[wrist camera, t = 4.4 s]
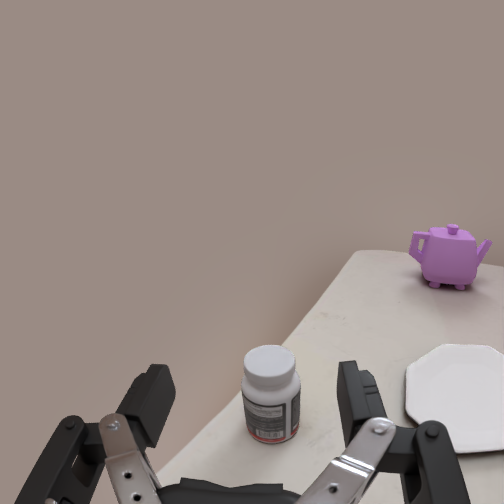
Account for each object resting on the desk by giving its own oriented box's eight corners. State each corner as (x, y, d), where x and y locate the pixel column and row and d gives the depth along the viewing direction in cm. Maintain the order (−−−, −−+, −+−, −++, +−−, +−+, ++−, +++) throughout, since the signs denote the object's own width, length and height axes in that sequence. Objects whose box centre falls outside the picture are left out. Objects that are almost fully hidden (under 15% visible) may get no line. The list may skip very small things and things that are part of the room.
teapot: (407, 289, 57) (413, 228, 53) (405, 266, 67) (409, 215, 63) (490, 295, 49) (502, 237, 44) (477, 273, 59) (485, 222, 55)
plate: (483, 488, 15) (489, 481, 14) (372, 392, 32) (374, 384, 32) (549, 392, 22) (553, 384, 21) (458, 337, 39) (460, 329, 39)
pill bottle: (276, 400, 33) (274, 334, 30) (309, 426, 29) (315, 359, 26) (236, 423, 30) (226, 357, 27) (268, 454, 26) (264, 389, 23)
